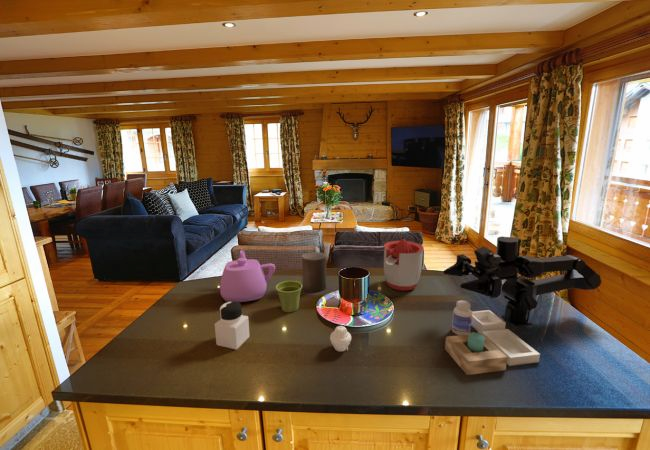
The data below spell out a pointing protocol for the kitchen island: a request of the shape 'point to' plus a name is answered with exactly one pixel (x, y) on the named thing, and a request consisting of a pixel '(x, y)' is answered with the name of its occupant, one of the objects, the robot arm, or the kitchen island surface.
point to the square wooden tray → (475, 355)
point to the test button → (475, 342)
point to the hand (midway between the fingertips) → (452, 278)
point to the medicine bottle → (232, 326)
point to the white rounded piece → (340, 338)
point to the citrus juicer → (402, 264)
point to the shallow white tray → (512, 347)
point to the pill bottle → (462, 318)
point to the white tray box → (486, 321)
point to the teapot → (244, 279)
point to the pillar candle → (314, 271)
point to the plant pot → (289, 295)
